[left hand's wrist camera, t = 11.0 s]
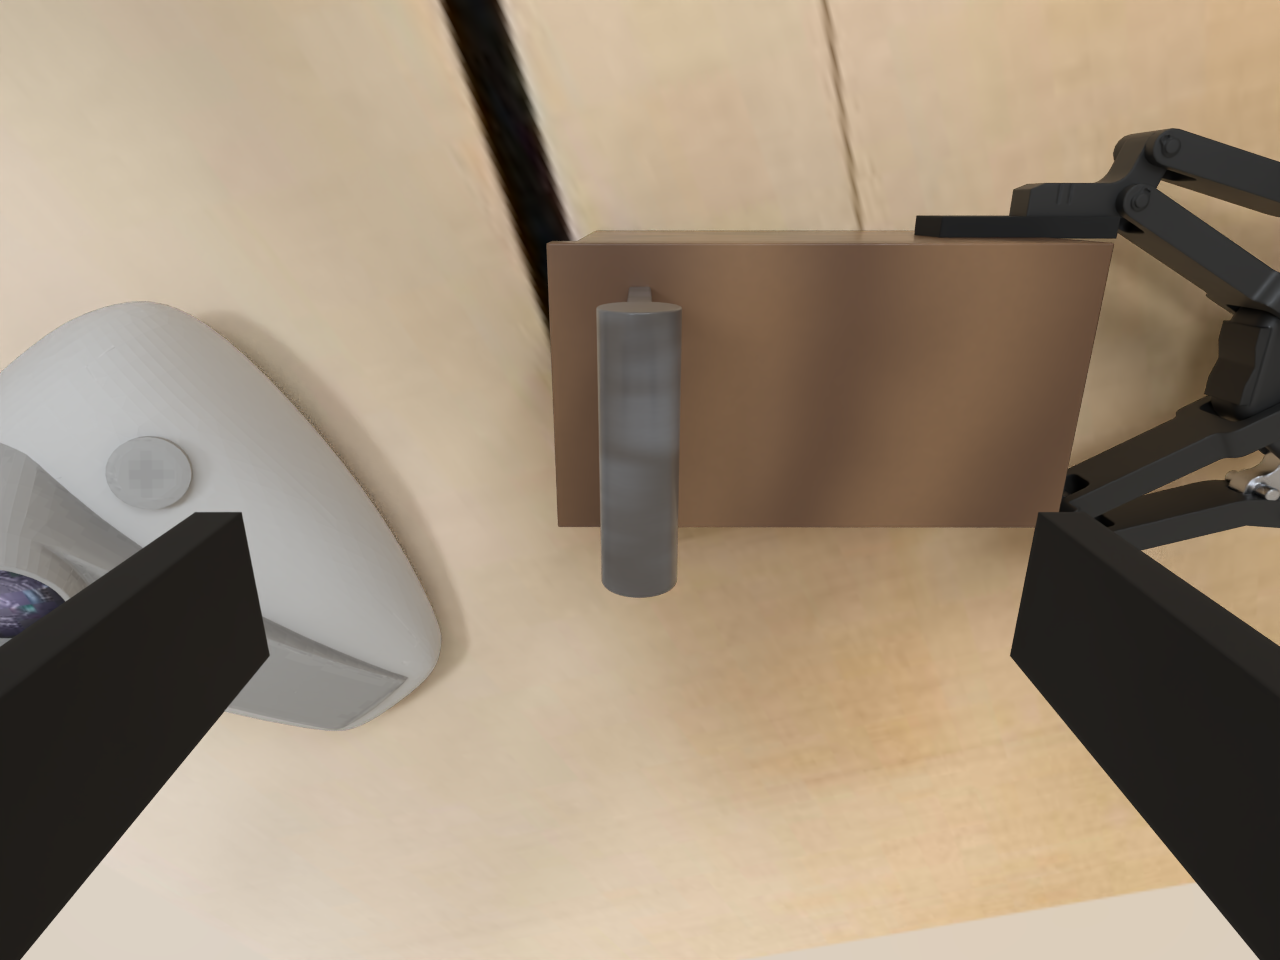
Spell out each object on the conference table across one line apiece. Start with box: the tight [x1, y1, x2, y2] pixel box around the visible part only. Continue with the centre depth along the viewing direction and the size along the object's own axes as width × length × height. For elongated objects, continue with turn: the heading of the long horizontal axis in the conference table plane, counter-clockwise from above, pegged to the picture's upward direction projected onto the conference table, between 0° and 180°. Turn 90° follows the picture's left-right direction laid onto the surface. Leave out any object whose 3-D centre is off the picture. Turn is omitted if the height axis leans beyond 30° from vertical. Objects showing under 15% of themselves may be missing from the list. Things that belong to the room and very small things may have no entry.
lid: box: [547, 241, 1114, 598], centre depth 22 cm, size 18×10×9 cm, turn 90°
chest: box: [579, 231, 1082, 241], centre depth 32 cm, size 17×10×11 cm, turn 90°
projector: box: [0, 301, 441, 731], centre depth 33 cm, size 22×23×15 cm
